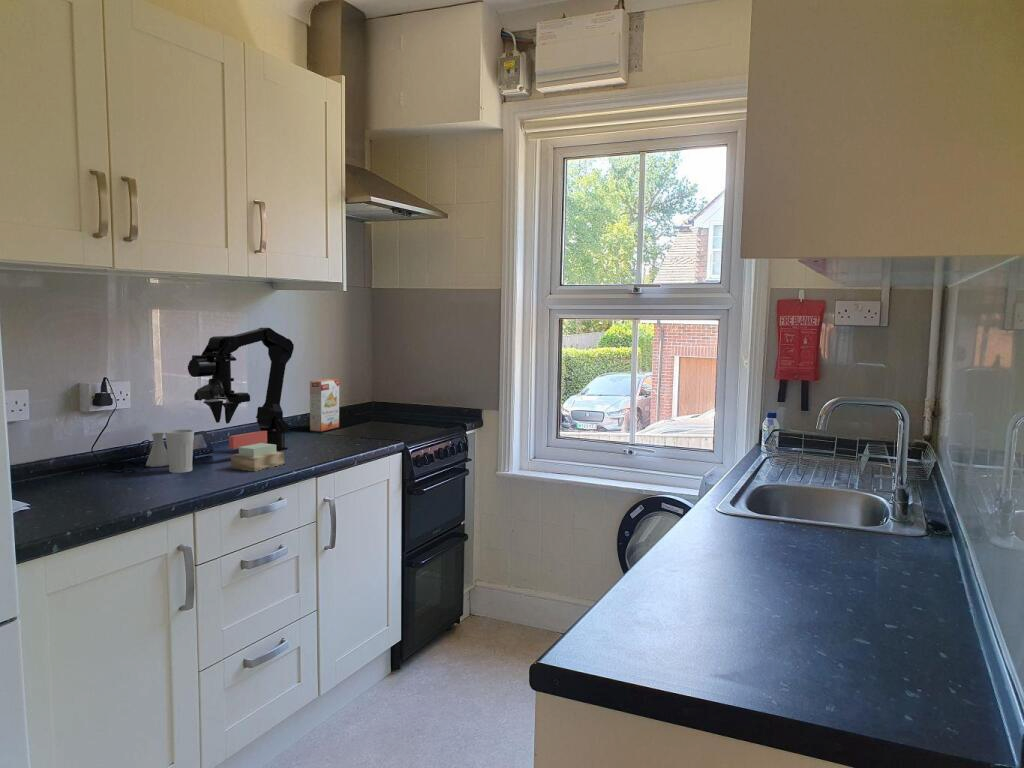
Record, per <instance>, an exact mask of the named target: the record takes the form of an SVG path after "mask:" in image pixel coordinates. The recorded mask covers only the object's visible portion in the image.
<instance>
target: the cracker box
mask: <svg viewBox="0 0 1024 768" xmlns="http://www.w3.org/2000/svg"><path fill="white" fill-rule="evenodd" d="M339 428H340V379H336V378H334V379H333V378H327V379H320V380H319V379H318V380H311V381H309V431H310V432H319V433H320V432H325V431H329V430H335V429H339Z"/></svg>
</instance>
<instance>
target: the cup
mask: <svg viewBox="0 0 1024 768" xmlns="http://www.w3.org/2000/svg"><path fill="white" fill-rule="evenodd" d="M164 435H165V436H164V437H165V442H166V443H165V444H166V450H167V453H168V460H169V465H168V466H169V467H168V471H169V473H171V472H172V474H173V473H174V474H180V473H181V474H182V473H183V474H184V473H188V472H191V471H193V456H194V455H193V453H194V442H195V441H194V439H195V430H194V429H188V428H186V429H182V428H181V429H170V430H166V431H164Z"/></svg>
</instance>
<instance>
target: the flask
mask: <svg viewBox="0 0 1024 768" xmlns="http://www.w3.org/2000/svg"><path fill="white" fill-rule="evenodd" d="M164 435H165V432H155V433H152V434H151V436H152V445H151V448H150V449H151V450H150V452H149V454H148V457H147V460H146V464H145V467H151V468H155V467H156V468H157V467H165V466H169V460H168V451H167V447H166V446H165V442H164Z"/></svg>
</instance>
